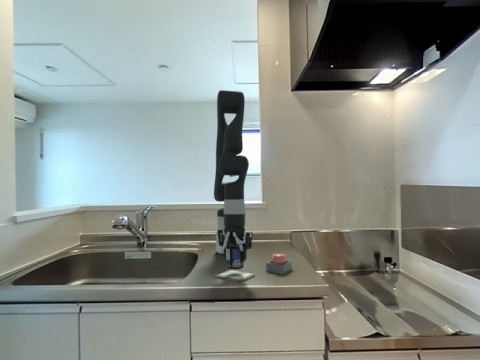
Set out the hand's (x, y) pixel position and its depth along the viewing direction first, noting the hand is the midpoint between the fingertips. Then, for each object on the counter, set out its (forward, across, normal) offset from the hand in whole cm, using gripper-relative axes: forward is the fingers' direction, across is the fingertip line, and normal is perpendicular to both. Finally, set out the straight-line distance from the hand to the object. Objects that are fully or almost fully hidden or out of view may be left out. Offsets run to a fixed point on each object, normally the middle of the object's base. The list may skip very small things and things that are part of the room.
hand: (234, 259), depth 103 cm
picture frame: (+6, 0, 0) cm, 6 cm away
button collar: (+6, +10, +15) cm, 19 cm away
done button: (+4, +10, +15) cm, 18 cm away
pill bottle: (+3, 0, 0) cm, 3 cm away
